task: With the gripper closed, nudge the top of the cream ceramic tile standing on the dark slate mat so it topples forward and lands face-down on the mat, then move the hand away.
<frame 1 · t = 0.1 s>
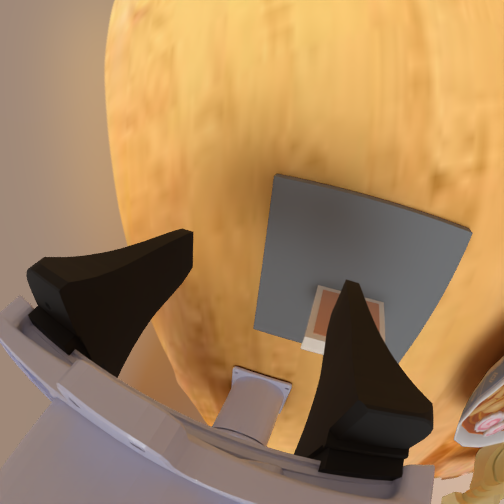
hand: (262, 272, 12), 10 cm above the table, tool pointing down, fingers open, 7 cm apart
mat: (353, 285, 23), on the table
tile: (349, 300, 22), point 1 cm above the table, touching mat
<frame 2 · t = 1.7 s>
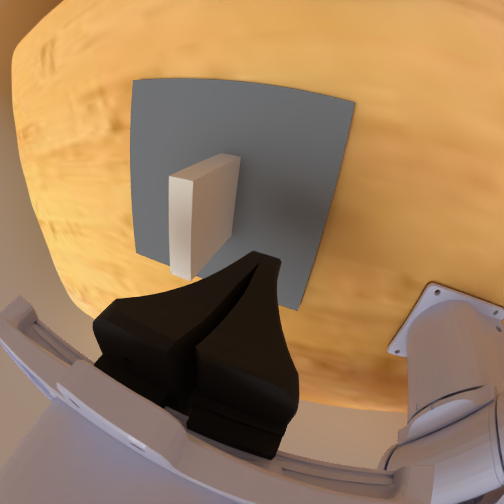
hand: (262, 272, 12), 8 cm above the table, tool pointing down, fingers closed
mat: (218, 189, 20), on the table
tile: (226, 195, 19), point 1 cm above the table, touching mat
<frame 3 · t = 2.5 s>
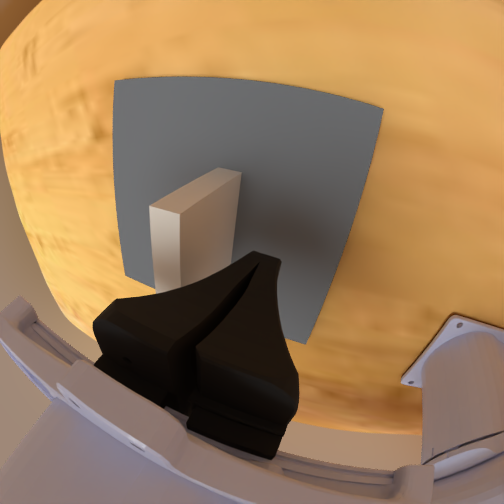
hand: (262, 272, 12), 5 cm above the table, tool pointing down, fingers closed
mat: (215, 209, 17), on the table
tile: (224, 218, 16), point 1 cm above the table, touching mat
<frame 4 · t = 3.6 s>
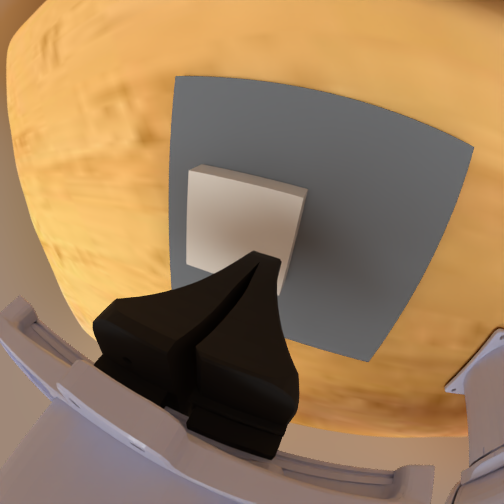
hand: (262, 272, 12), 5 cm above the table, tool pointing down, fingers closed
mat: (294, 231, 16), on the table
tile: (293, 245, 15), point 2 cm above the table, tilted 90°, touching mat
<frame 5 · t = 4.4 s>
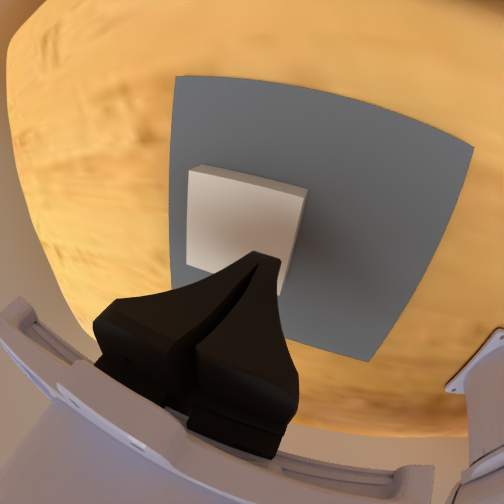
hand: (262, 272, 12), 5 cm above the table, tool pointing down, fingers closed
mat: (294, 231, 16), on the table
tile: (293, 245, 15), point 2 cm above the table, tilted 90°, touching mat
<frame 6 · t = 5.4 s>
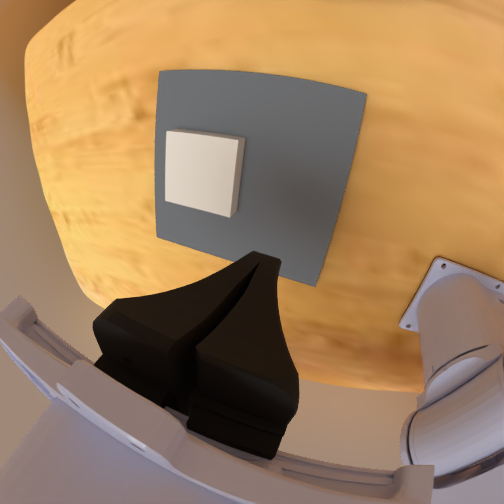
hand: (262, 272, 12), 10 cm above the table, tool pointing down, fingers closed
mat: (241, 172, 21), on the table
tile: (237, 178, 20), point 2 cm above the table, tilted 90°, touching mat
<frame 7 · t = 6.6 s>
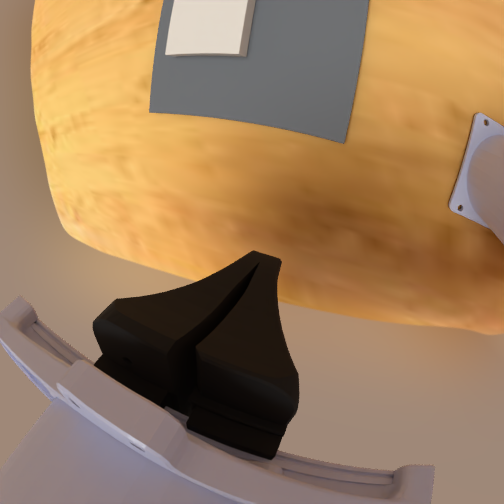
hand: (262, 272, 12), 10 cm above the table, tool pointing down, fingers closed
mat: (252, 24, 15), on the table
tile: (248, 18, 13), point 2 cm above the table, tilted 90°, touching mat
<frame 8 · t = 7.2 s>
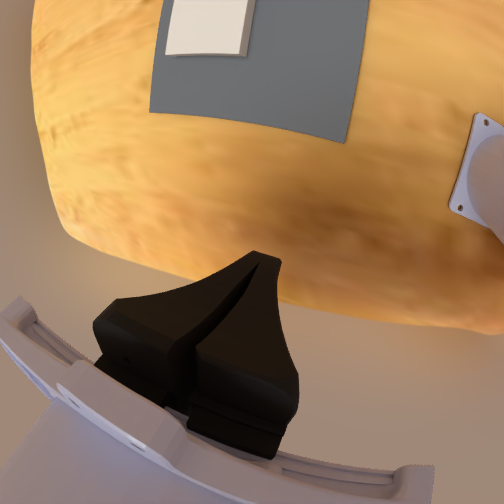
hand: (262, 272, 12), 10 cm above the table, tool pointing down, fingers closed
mat: (252, 24, 15), on the table
tile: (248, 18, 13), point 2 cm above the table, tilted 90°, touching mat
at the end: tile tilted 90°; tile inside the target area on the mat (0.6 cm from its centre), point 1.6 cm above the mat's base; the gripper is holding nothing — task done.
